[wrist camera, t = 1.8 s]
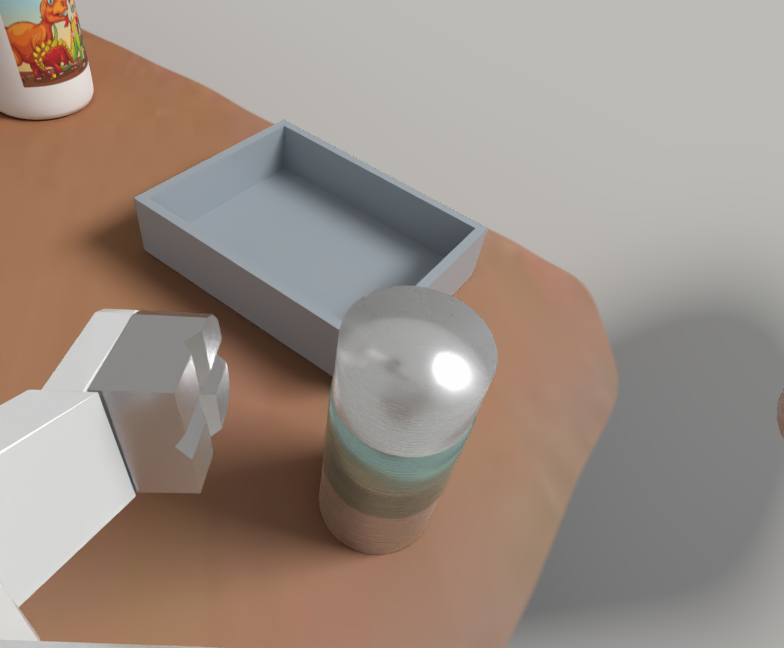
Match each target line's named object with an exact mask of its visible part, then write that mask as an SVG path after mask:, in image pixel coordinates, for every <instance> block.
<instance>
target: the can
mask: <svg viewBox="0 0 784 648" xmlns="http://www.w3.org/2000/svg"><path fill="white" fill-rule="evenodd" d="M497 358H498V354H497V347H496V343H495V340H494V337H493V335H492V333H491V331H490V329H489V328H488V326H487V324H486V323H485V322H484V321H483V319H482V318H481V317H480V316H479V315H478V314H477V313H476V312H475V311H474V310H473V309H471V308H470V307H469V306H468V305H466V304H465V303H463V302H462V301H460V300H459V299H457V298H455V297H453V296H451V295H449V294H446V293H444V292H441V291H438V290H434V289H431V288H426V287H420V286H393V287H387V288H383V289H379V290H376V291H374V292H372V293H369V294H367V295H366V296H364V297H362V298H361V299H359V300H358V301H357V302H355V303H354V304H353V305H352V306H351V308H350V309H349V310H348V311H347V313H346V314H345V316H344V318H343V320H342V322H341V326H340V329H339V336H338V344H337V353H336V361H335V369H334V374H333V378H332V382H331V391H330V399H329V407H328V416H327V424H326V432H325V440H324V449H323V466H322V474H321V482H320V491H319V506H320V512H321V515H322V518H323V520H324V522H325V524H326V526H327V527H328V529H329V530H330V532H331V533H332V534H333V535H334V536H335V537H336V538H337V539H338V540H339V541H340V542H341V543H343V544H344V545H346V546H347V547H349V548H351V549H353V550H356V551H359V552H362V553H366V554H372V555H385V554H390V553H395V552H397V551H400V550H402V549H404V548H406V547H408V546H409V545H411V544H412V543H414V542H415V541H416V540H417V539H418V538H419V537H420V535H421V534H422V533H423V532H424V530H425V528H426V526H427V524H428V522H429V520H430V518H431V515H432V513H433V511H434V509H435V506H436V504H437V502H438V500H439V497H440V495H441V494H442V492H443V491H444V489H445V487H446V485H447V482H448V480H449V478H450V476H451V473H452V471H453V469H454V467H455V465H456V462H457V460H458V458H459V456H460V453H461V451H462V449H463V447H464V444H465V442H466V440H467V438H468V436H469V433H470V431H471V429H472V427H473V424H474V422H475V419H476V415H477V412H478V410H479V408H480V405H481V403H482V401H483V399H484V396H485V394H486V392H487V390H488V387H489V385H490V383H491V381H492V378H493V376H494V374H495V371H496V367H497Z"/></svg>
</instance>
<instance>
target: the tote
mask: <svg viewBox="0 0 784 648" xmlns="http://www.w3.org/2000/svg"><path fill="white" fill-rule="evenodd" d="M134 202H135V207H136V212H137V217H138V222H139V227H140V231H141V236H142V241H143V246H144V250H145V251H147V252H148V253H150V254H151V255H153V256H154V257H155V258H157V259H158V260H160V261H161V262H163V263H164V264H166V265H167V266H169V267H170V268H172V269H173V270H175V271H176V272H178V273H179V274H181V275H182V276H184V277H185V278H187V279H188V280H190V281H191V282H193V283H194V284H196V285H197V286H199V287H200V288H202V289H203V290H204V291H206V292H207V293H209V294H210V295H212V296H213V297H215V298H216V299H218V300H219V301H221V302H222V303H224V304H225V305H227V306H228V307H230V308H231V309H233V310H234V311H236V312H237V313H239V314H240V315H242V316H243V317H245V318H246V319H248V320H249V321H250V322H252V323H253V324H255V325H256V326H258V327H259V328H261V329H262V330H264V331H265V332H267V333H268V334H270V335H271V336H273V337H274V338H276V339H277V340H279V341H280V342H282V343H283V344H285V345H286V346H288V347H289V348H291V349H292V350H294V351H295V352H297V353H298V354H299V355H301V356H302V357H304V358H305V359H307V360H308V361H310V362H311V363H313V364H314V365H316V366H317V367H319V368H320V369H322V370H323V371H325V372H326V373H328V374H329V375H331V376H332V377H333V374H334V369H335V361H336V353H337V344H338V336H339V329H340V326H341V322H342V320H343V318H344V316H345V314H346V313H347V311H348V310H349V309H350V308H351V306H352V305H353V304H354V303H355V302H357V301H358V300H359V299H361V298H362V297H364V296H366V295H367V294H369V293H372V292H374V291H376V290H379V289H383V288H387V287H393V286H420V287H426V288H431V289H434V290H438V291H441V292H444V293H446V294H449V295H451V296H452V295H453V294H454V293H455V292H456V291H457V290H458V289H459V288H460V287H461V286H462V285H463V284H464V283H465V282H466V281H467V280H468V279H469V278H470V277H471V276H472V274H473V272H474V269H475V266H476V263H477V260H478V257H479V254H480V251H481V248H482V245H483V242H484V239H485V236H486V233H487V230H488V228H487V227H485V226H483V225H481V224H479V223H477V222H475V221H474V220H472V219H470V218H468V217H466V216H464V215H462V214H460V213H459V212H457V211H455V210H453V209H451V208H449V207H447V206H445V205H444V204H442V203H440V202H438V201H436V200H434V199H432V198H430V197H428V196H426V195H425V194H423V193H421V192H419V191H417V190H415V189H413V188H411V187H409V186H408V185H406V184H404V183H402V182H400V181H398V180H396V179H395V178H393V177H391V176H389V175H387V174H385V173H383V172H381V171H380V170H378V169H376V168H374V167H372V166H370V165H368V164H366V163H364V162H362V161H361V160H358V159H357V158H355V157H353V156H351V155H350V154H348V153H346V152H344V151H342V150H340V149H338V148H336V147H334V146H333V145H331V144H329V143H327V142H325V141H323V140H321V139H319V138H318V137H316V136H314V135H312V134H310V133H308V132H306V131H304V130H302V129H301V128H299V127H297V126H295V125H293V124H291V123H289V122H287V121H286V120H282V121H280V122H278V123H276V124H274V125H272V126H270V127H269V128H267V129H265V130H263V131H261V132H259V133H257V134H255V135H253V136H251V137H249V138H247V139H245V140H244V141H242V142H240V143H238V144H236V145H234V146H232V147H230V148H228V149H226V150H224V151H222V152H221V153H219V154H217V155H215V156H213V157H211V158H209V159H207V160H205V161H203V162H201V163H199V164H198V165H196V166H194V167H192V168H190V169H188V170H186V171H184V172H182V173H180V174H178V175H176V176H175V177H173V178H171V179H169V180H167V181H165V182H163V183H161V184H159V185H157V186H155V187H153V188H152V189H150V190H148V191H146V192H144V193H142V194H140V195H138V196H136V197H134Z"/></svg>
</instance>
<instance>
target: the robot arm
mask: <svg viewBox="0 0 784 648" xmlns="http://www.w3.org/2000/svg"><path fill="white" fill-rule="evenodd" d="M221 340H222V336H221V331H220V327H219V322H218V319H217V318H216V317H215V316H214V315H213V314H202V313H184V312H167V311H149V310H140V311H138V310H125V309H102V310H100V311H97V312H95V313H94V314H93V316H92V317H91V319H90V320H89V321H88V323H87V324H86V326H85V327H84V329H83V330H82V332H81V333H80V334H79V336H78V337H77V339H76V340H75V342H74V343H73V345H72V346H71V347H70V349H69V350H68V352H67V353H66V355H65V356H64V357H63V359H62V360H61V362H60V363H59V365H58V366H57V368H56V369H55V370H54V372H53V373H52V375H51V376H50V378H49V379H48V381H47V382H46V383H45V385H44V386H43V388H42V389H41V390H27V391H26V392H24V393H22V394H20V395H18V396H17V397H15V398H13V399H11V400H9V401H8V402H6V403H4V404H2V405H0V648H217V647H189V646H161V645H133V644H104V643H76V642H48V641H40V638H39V636H38V635H37V633H36V632H35V630H34V629H33V627H32V626H31V625H30V623H29V622H28V620H27V619H26V617H25V616H24V614H23V613H22V612H21V610H20V609H19V606H20V605H21V604H22V603H23V602H25V601H26V600H27V599H28V598H29V597H30V596H31V595H32V594H33V593H34V592H35V591H36V590H37V589H38V588H39V587H40V586H41V585H43V584H44V583H45V582H46V581H47V580H48V579H49V578H50V577H51V576H52V575H53V574H54V573H55V572H56V571H57V570H58V569H59V568H61V567H62V566H63V565H64V564H65V563H66V562H67V561H68V560H69V559H70V558H71V557H72V556H73V555H74V554H75V553H76V552H77V551H79V550H80V549H81V548H82V547H83V546H84V545H85V544H86V543H87V542H88V541H89V540H90V539H91V538H92V537H93V536H94V535H95V534H97V533H98V532H99V531H100V530H101V529H102V528H103V527H104V526H105V525H106V524H107V523H108V522H109V521H110V520H111V519H112V518H113V517H115V516H116V515H117V514H118V513H119V512H120V511H121V510H122V509H123V508H124V507H125V506H126V505H127V504H128V503H129V502H130V501H131V500H133V499H134V498H135V497H136V494H135V493H201V490H202V487H203V484H204V481H205V478H206V475H207V472H208V469H209V466H210V463H211V460H212V457H213V454H214V452H213V447H212V443H211V438H210V437H211V436H213V435H214V434H215V433H217V432H218V431H219V430H220V429H222V427H223V423H224V420H225V417H226V413H227V407H228V400H229V374H228V368H227V363H226V362H225V361H224V360H223V359H222V358H221V357H220V356H219V355H218V354H216V353H217V351H218V348H219V345H220V343H221ZM777 421H778V425H779V428H780V432H781V434H782V436H783V438H784V390H783V392H782V394H781V396H780V398H779V400H778V408H777Z"/></svg>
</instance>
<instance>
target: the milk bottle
mask: <svg viewBox="0 0 784 648" xmlns="http://www.w3.org/2000/svg"><path fill="white" fill-rule="evenodd" d="M93 92H94V88H93V82H92V77H91V72H90V68H89V63H88V59H87V54H86V50H85V46H84V41H83V37H82V32H81V28H80V24H79V19H78V15H77V11H76V6H75V2H74V0H0V112H2V113H4V114H6V115H9V116H13V117H16V118H22V119H33V120H41V119H53V118H59V117H63V116H67V115H70V114H73V113H75V112H77V111H79V110H81V109H83V108H84V107H85V106H86V105H88V103H89V102H90V101H91V98H92V96H93Z"/></svg>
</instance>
